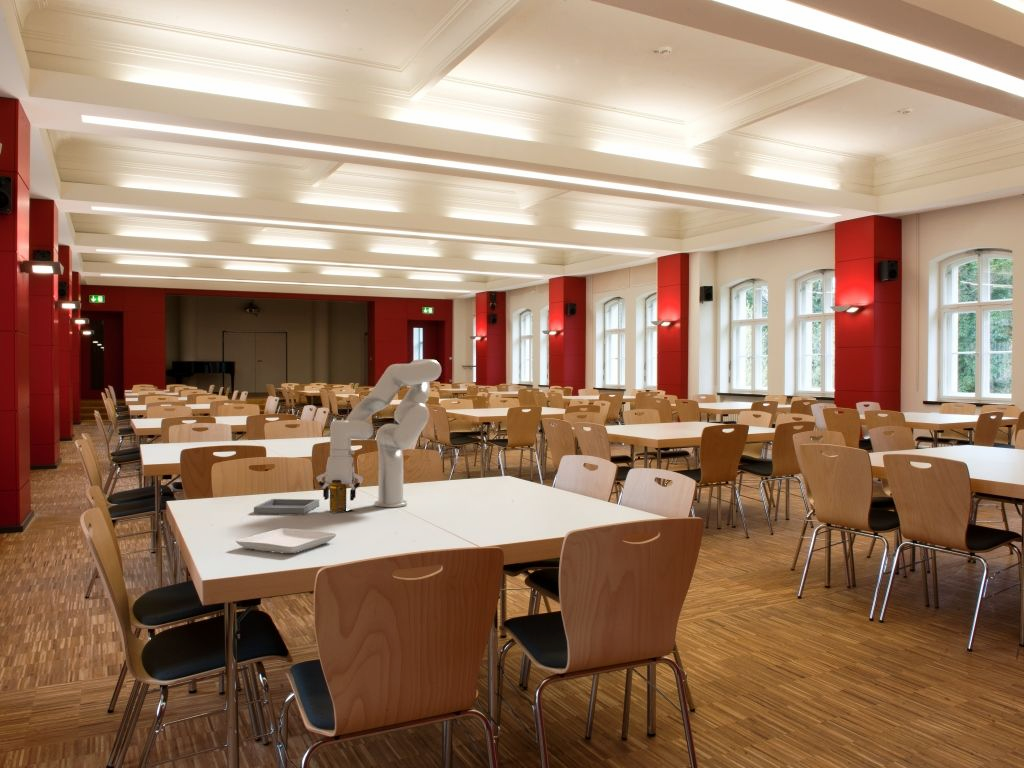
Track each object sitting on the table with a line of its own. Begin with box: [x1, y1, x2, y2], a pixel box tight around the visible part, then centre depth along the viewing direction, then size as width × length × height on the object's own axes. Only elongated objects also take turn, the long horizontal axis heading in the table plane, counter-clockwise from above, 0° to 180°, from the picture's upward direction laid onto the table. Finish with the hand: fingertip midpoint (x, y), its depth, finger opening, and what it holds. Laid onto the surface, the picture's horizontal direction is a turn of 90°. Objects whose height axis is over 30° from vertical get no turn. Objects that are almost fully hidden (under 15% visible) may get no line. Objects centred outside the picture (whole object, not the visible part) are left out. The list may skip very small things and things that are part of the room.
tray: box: [253, 498, 320, 516], centre depth 287 cm, size 18×18×2 cm
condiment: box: [325, 480, 355, 514], centre depth 286 cm, size 7×8×12 cm
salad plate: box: [235, 527, 337, 554], centre depth 228 cm, size 21×21×3 cm
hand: (339, 499), depth 285 cm, fingers open, 9 cm apart
